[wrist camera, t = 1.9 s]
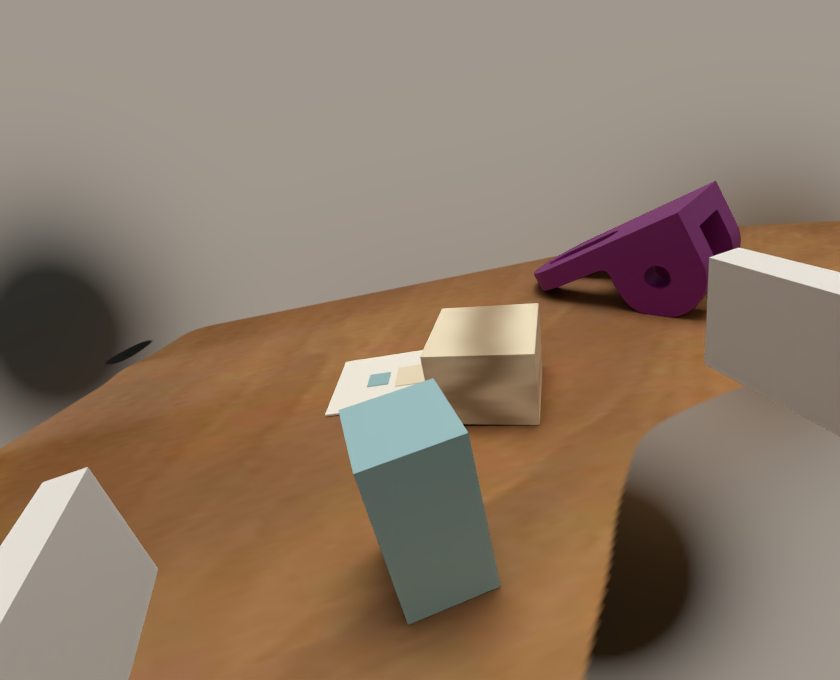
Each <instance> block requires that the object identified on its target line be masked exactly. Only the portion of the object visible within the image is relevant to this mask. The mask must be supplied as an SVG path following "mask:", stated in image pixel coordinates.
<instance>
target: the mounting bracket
mask: <svg viewBox="0 0 840 680" xmlns="http://www.w3.org/2000/svg"><path fill="white" fill-rule="evenodd" d="M740 243H741V237H740V231H739V228H738V226H737V224H736V221H735V220H734V217H733V215H732V213H731V211H730V209H729V207H728V205H727V203H726V201H725V199H724V197H723V195H722V192H721V190H720V188H719V186H718V184H717V182H716V181H714V182H712V183H710V184H708V185H706V186H704V187H701V188H699V189H697V190H695V191H693V192H691V193H688V194H686V195H684V196H682V197H680V198H678V199H676V200H673V201H671V202H669V203H667V204H665V205H663V206H661V207H658V208H656V209H654V210H652V211H650V212H647V213H645V214H643V215H641V216H639V217H637V218H635V219H633V220H630V221H628V222H626V223H624V224H622V225H620V226H618V227H615V228H613V229H611V230H609V231H607V232H605V233H603V234H600V235H598V236H596V237H594V238H592V239H590V240H587V241H586V242H583V243H581V244H579V245H577V246H576V247H574V248H572V249H570V250H568V251H566V252H564V253H563V254H561V255H559V256H557V257H556V258H554V259H552V260H551V261H549V262H547V263H546V264H544V265H543V266H541V267H540V268H539V269H537V270H536V271H535V272H534V275H535V277H536V279H537V281H538V283H539V285H540V286H541V288H542V290H543V291H546V290H551V289H554V288H557V287H559V286H562V285H564V284H567V283H569V282H572V281H574V280H577V279H580V278H582V277H585V276H587V275H590V274H592V273H595V272H597V271H601V270H602V271H606V272H607V273H608V274H609V275H610V277H611V279H612V281H613V283H614V285H615V287H616V288H617V290H618V292H619V294H620V295H621V297H622V298H623V299H624V301H625V302H626V303H627V304H628V305H629V306H631V307H632V308H633V309H635V310H637V311H638V312H640V313H643V314H650V315H657V316H664V317H671V318H672V317H677V316H680V315H683V314H685V313H687V312H689V311H690V310H692V309H693V308H694V307H695V306H696V305H697V304H698V303H699V302H700V301H701V300H702V298H703V297H704V296H705V295H706V293H707V292H708V273H709V257H712V256H715V255H718V254H721V253H724V252H727V251H730V250H733V249H736V248H740Z"/></svg>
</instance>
